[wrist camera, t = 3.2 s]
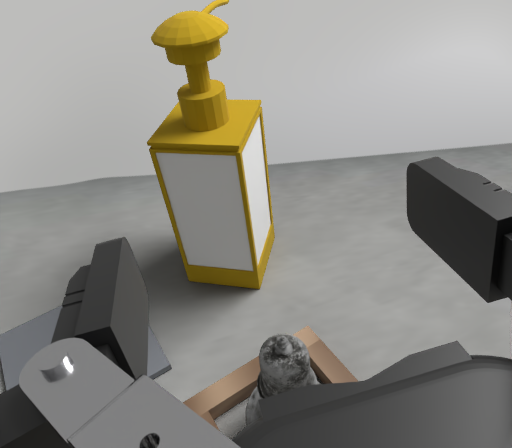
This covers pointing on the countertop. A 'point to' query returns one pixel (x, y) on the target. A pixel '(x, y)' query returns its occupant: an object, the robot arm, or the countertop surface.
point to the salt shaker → (280, 371)
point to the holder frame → (245, 378)
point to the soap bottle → (212, 162)
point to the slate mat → (40, 335)
